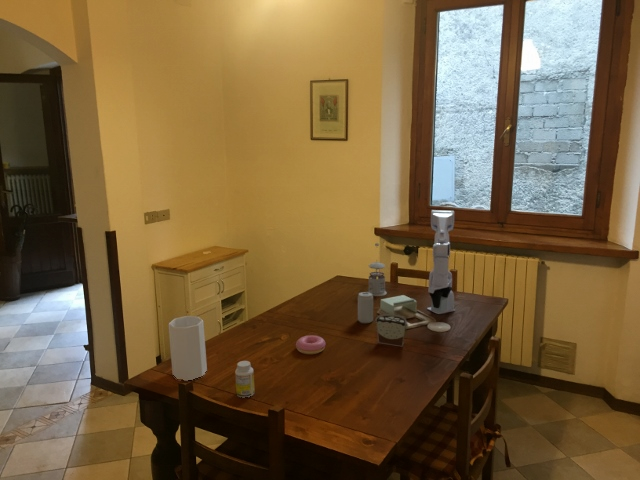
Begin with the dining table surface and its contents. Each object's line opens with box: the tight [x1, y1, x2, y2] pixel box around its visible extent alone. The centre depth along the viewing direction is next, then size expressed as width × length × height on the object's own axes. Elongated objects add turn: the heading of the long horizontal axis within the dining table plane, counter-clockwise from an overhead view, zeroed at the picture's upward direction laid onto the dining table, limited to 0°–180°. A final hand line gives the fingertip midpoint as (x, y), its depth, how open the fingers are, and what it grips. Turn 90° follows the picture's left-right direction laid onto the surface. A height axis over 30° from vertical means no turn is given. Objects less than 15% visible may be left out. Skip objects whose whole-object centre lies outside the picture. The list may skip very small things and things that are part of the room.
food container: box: [374, 314, 408, 348], centre depth 195 cm, size 12×6×10 cm, turn 65°
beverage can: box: [357, 291, 374, 324], centre depth 216 cm, size 6×6×12 cm
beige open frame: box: [376, 306, 437, 330], centre depth 220 cm, size 15×21×2 cm
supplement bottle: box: [234, 360, 256, 399], centre depth 159 cm, size 6×6×10 cm
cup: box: [168, 315, 208, 382], centre depth 172 cm, size 11×11×18 cm
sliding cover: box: [379, 294, 418, 314], centre depth 224 cm, size 12×10×6 cm
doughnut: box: [295, 335, 327, 355], centre depth 191 cm, size 11×11×4 cm
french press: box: [367, 242, 388, 297], centre depth 252 cm, size 10×12×25 cm
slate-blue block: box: [430, 297, 447, 314], centre depth 207 cm, size 4×4×5 cm
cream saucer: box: [427, 321, 451, 333], centre depth 209 cm, size 9×9×1 cm
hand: (439, 305), depth 207 cm, fingers closed on slate-blue block, 4 cm apart
